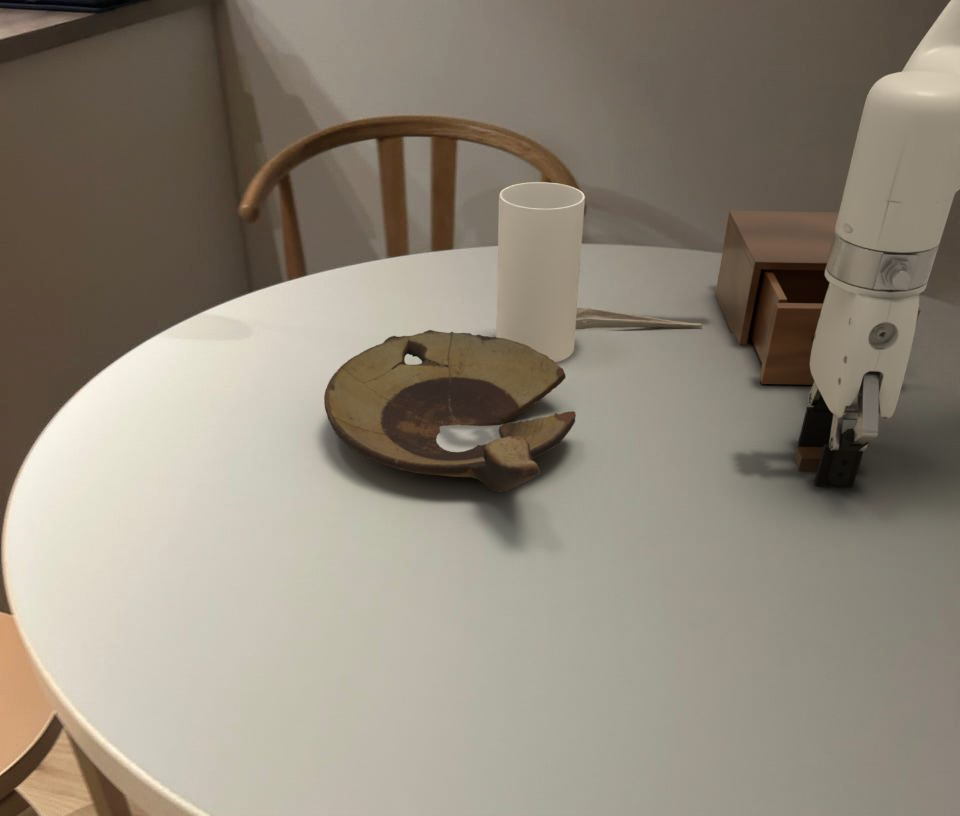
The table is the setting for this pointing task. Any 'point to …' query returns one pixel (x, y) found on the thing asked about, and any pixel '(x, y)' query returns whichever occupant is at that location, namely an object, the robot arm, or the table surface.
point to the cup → (539, 266)
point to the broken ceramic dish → (447, 405)
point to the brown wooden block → (807, 458)
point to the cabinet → (767, 256)
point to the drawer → (787, 323)
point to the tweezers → (621, 320)
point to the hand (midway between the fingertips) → (824, 465)
